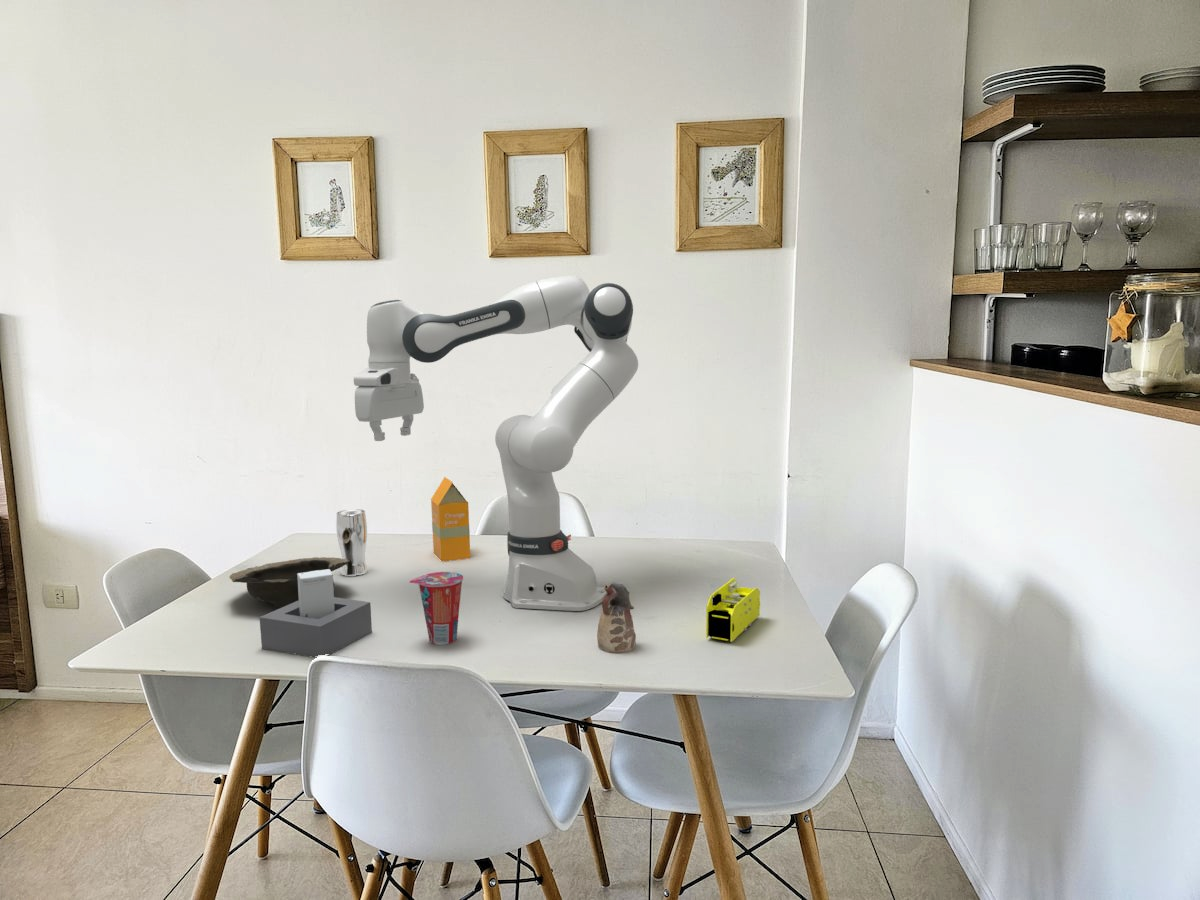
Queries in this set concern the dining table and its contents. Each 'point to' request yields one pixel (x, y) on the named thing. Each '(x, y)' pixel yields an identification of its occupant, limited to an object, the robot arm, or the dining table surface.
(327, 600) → the skincare box
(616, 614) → the figurine
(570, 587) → the robot arm
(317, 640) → the mount block
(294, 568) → the stone bowl
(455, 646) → the dining table surface
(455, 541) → the orange juice
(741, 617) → the yellow toy chassis
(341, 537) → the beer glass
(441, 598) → the cup
